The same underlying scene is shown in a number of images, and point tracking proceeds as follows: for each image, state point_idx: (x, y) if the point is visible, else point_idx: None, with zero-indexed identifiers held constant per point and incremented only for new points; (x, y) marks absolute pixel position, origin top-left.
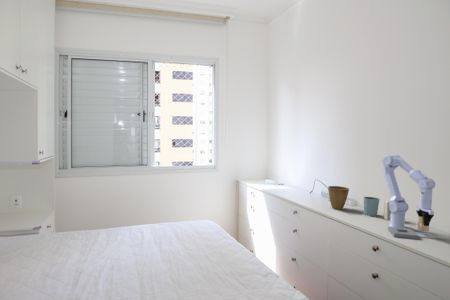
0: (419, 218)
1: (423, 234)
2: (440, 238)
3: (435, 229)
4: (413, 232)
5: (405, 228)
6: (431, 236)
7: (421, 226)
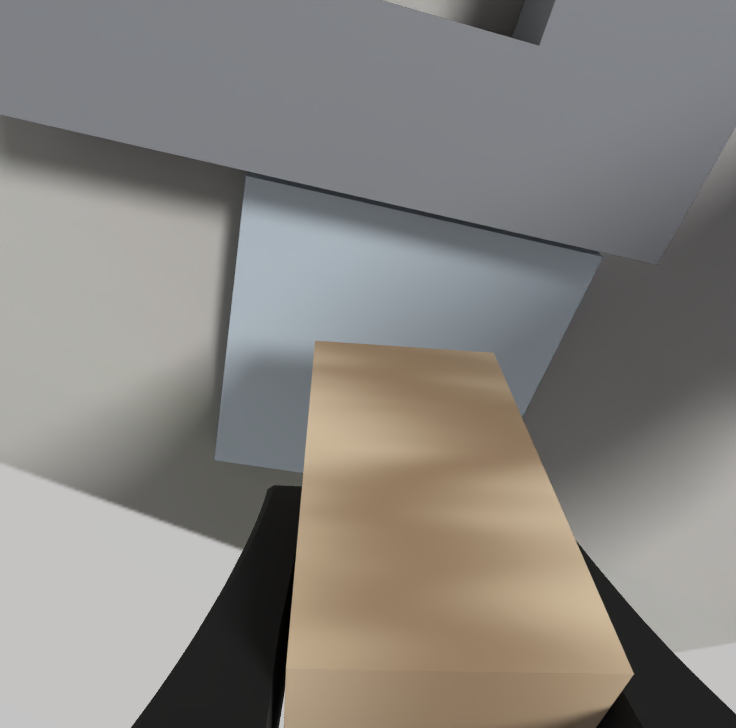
0: (491, 604)
1: None
2: None
3: (680, 631)
4: (311, 131)
5: (699, 112)
6: (278, 435)
7: (310, 411)
